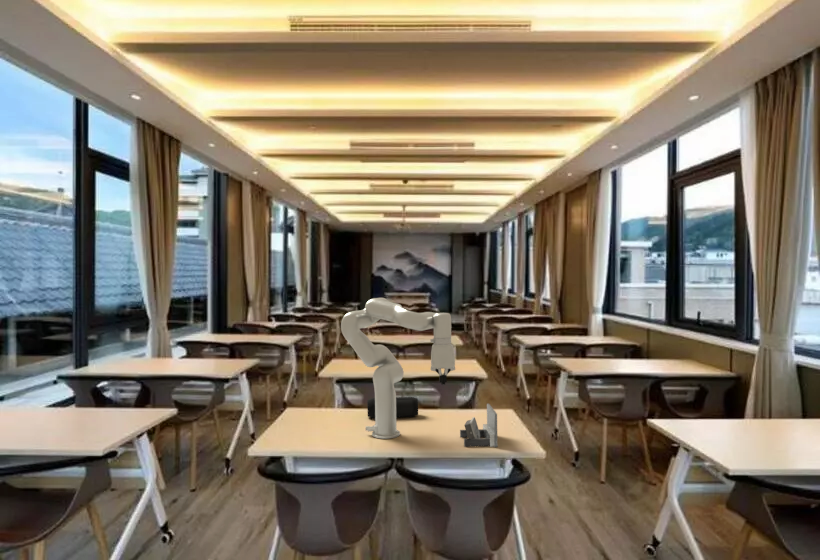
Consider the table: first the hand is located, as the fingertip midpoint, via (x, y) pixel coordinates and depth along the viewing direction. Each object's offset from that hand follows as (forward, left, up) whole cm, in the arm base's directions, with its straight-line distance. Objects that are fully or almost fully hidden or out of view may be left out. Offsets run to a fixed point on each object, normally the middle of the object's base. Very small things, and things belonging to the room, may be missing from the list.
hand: (443, 384), depth 244 cm
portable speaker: (-22, +45, -26) cm, 56 cm away
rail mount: (+14, 0, -25) cm, 29 cm away
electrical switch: (+13, +2, -25) cm, 29 cm away
